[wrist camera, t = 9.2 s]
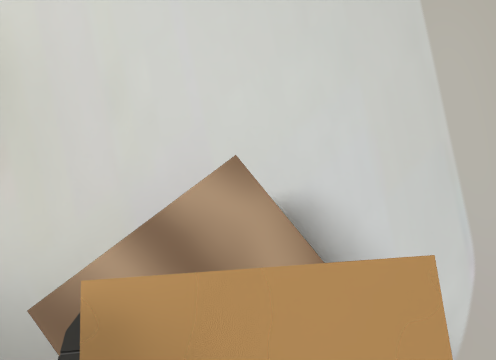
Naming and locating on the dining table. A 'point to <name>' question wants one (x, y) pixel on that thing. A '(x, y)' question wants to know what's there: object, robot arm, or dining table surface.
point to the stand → (190, 243)
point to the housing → (270, 314)
